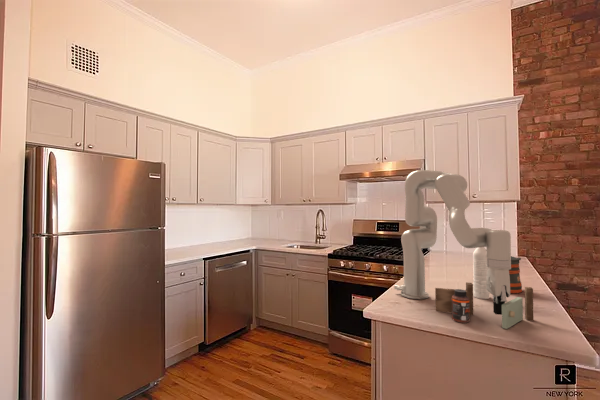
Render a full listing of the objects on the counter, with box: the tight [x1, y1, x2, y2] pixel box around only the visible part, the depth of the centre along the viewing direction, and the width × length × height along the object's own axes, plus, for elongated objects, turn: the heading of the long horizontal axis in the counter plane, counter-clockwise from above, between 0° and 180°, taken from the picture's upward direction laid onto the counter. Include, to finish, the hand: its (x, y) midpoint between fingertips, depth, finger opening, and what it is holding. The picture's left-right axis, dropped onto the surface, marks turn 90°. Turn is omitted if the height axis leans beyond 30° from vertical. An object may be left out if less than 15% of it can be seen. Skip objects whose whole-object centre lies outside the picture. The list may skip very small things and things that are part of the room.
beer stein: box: [486, 249, 523, 295], centre depth 159 cm, size 19×15×20 cm
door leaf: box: [501, 296, 524, 330], centre depth 113 cm, size 15×3×8 cm, turn 127°
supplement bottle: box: [451, 288, 471, 324], centre depth 118 cm, size 6×6×11 cm
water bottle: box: [472, 247, 490, 300], centre depth 147 cm, size 9×6×25 cm
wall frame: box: [434, 282, 534, 322], centre depth 123 cm, size 34×3×12 cm, turn 71°
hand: (499, 313), depth 114 cm, fingers closed
